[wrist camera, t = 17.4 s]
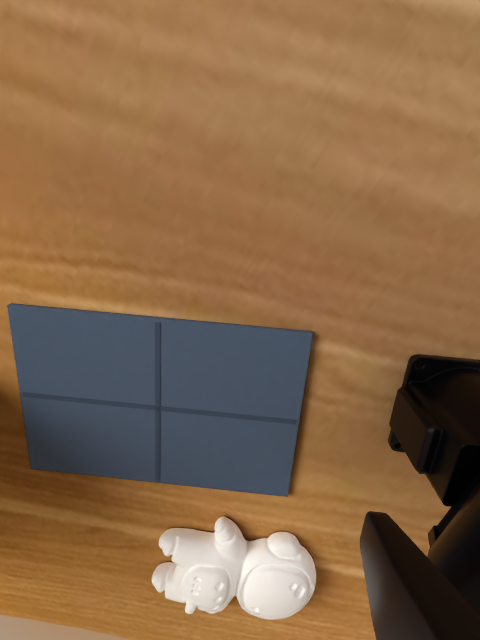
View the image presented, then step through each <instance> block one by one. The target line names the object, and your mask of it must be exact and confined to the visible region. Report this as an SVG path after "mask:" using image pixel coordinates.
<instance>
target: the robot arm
mask: <svg viewBox="0 0 480 640" xmlns="http://www.w3.org/2000/svg"><path fill="white" fill-rule="evenodd" d="M419 361H422V363H421V364H420V365H419V366H415V365H416V363H417V362H419ZM390 426H391V431H390V435H389V439H388V443H389V445H390V447H391V449H392V450H394V451H398V452H406V454H407V456H408V458H409V459H410V461H411V463H412V465H413V466H414V468H415V469H416V471H417V472H418V473H419V474H425V475H426V476H427V478H428V480H429V481H430V483H431V485H432V486H433V488H434V490H435V491H436V493H437V495H438V496H439V498H440V500H441V501H442V503H443V504H444V505H446V506H451V508H450V510H449V511H448V512H447V514H446V515H445V516H444V518H443V519H442V520H441V522H440V523H439V524H438V525H437V526H433V528H432V529H431V530H430V532H429V533H428V538H429V545H430V549H429V552H428V556H427V557H426V556H425V554H424V553H423V552H422V551H421V550H420V549H419V548H418V547H417V546H416V545H415V544H414V542H413V541H412V540H411V539H410V538H409V537H408V536H407V535H406V534H405V533H404V532H403V531H402V529H401V528H400V527H399V526H398V525H397V524H396V523H395V522H394V521H393V520H392V519H391V517H390V516H389V515H387V514H386V513H382V512H373V511H369V512H368V513H367V514H366V517H365V521H364V525H363V529H362V533H361V537H360V549H361V555H362V561H363V567H364V573H365V579H366V585H367V591H368V597H369V603H370V609H371V615H372V621H373V626H374V631H375V635H376V639H377V640H480V360H474V359H463V358H453V357H442V356H431V355H421V354H417V355H414V356H412V357H411V358H410V359H409V361H408V365H407V369H406V373H405V377H404V380H403V384H402V387H401V388H400V389H399V390H398V392H397V396H396V399H395V403H394V407H393V411H392V415H391V419H390ZM398 441H399V442H400V443H398V444H395V443H396V442H398Z"/></svg>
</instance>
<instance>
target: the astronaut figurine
mask: <svg viewBox="0 0 480 640" xmlns="http://www.w3.org/2000/svg"><path fill="white" fill-rule="evenodd" d="M159 547H160V548H161V549H162V550H163V553H164V555H165V556H170V555H172V562H165V563H161V564H159V565H158V566H157V567H156V569H155V571H154V573H153V576H152V584H153V586H154V587H155V588H156V590H157V591H158V592H162V591H164V590H165V598H167V599H169V600H173V601H177V602H182V603H186V608H185V612H186V613H187V614H192V613H193V612H194V611H195V609H196V607H197V608H198V609H199V610H202V611H206V612H208V613H210V614H214V613H216V612H221V611H222V610H223V609H224V608H225V607H226V606H227V605H228V604H229V602H230V601H231V600H232V598H233V597H234V596H236V597H237V599H238V601H239V604H240V606H241V607H242V609H243V610H245V611H246V612H248V613H249V614H252V615H254V616H256V617H259V618H263V619H271V620H276V619H283V618H287V617H290V616H292V615H294V614H295V613H296V612H298V611H299V610H301V609H302V608H303V607H304V606H305V605H306V604H307V603H308V601H309V600H310V598H311V597H312V595H313V592H314V589H315V584H316V570H315V565H314V562H313V559H312V557H311V555H310V554H309V553H308V551H307V550H306V549H305V548H304V547H303V546H301V545H300V544H299V542H298V539H297V538H296V537H295V536H294V535H293V534H291V533H288V532H276V533H273V534H271V535H270V536H269V537H268V538H261V539H257V540H253V541H247V540H245V539H244V537H243V535H242V533H241V531H240V529H239V528H238V526H237V525H236V524H235V523H234V522H233V521H232V520H230V519H228V518H227V517H225V516H222V517H220V518H219V519H218V520H217V521H216V523H215V532H214V533H210V532H205V531H198V530H195V529H186V528H170V529H168V530H166V531H165V532H164V533H163V534H162V535H161V537H160V539H159ZM173 562H174V563H173Z"/></svg>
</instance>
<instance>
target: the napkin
mask: <svg viewBox="0 0 480 640" xmlns="http://www.w3.org/2000/svg"><path fill="white" fill-rule="evenodd" d="M7 306H8V313H9V320H10V327H11V334H12V341H13V348H14V355H15V361H16V368H17V375H18V382H19V389H20V396H21V403H22V410H23V417H24V423H25V430H26V437H27V444H28V451H29V458H30V465H31V469H37V470H47V471H56V472H65V473H74V474H83V475H93V476H102V477H111V478H120V479H129V480H139V481H148V482H157V483H166V484H176V485H185V486H194V487H203V488H212V489H222V490H231V491H240V492H249V493H258V494H268V495H277V496H286V497H288V492H289V486H290V479H291V473H292V466H293V460H294V453H295V447H296V440H297V434H298V427H299V421H300V414H301V408H302V401H303V395H304V389H305V382H306V376H307V369H308V363H309V356H310V350H311V343H312V337H313V333H312V331H304V330H293V329H282V328H271V327H261V326H250V325H239V324H228V323H218V322H207V321H196V320H185V319H174V318H164V317H153V316H142V315H131V314H120V313H110V312H99V311H88V310H77V309H67V308H56V307H45V306H34V305H23V304H13V303H11V304H9V305H7Z"/></svg>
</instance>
